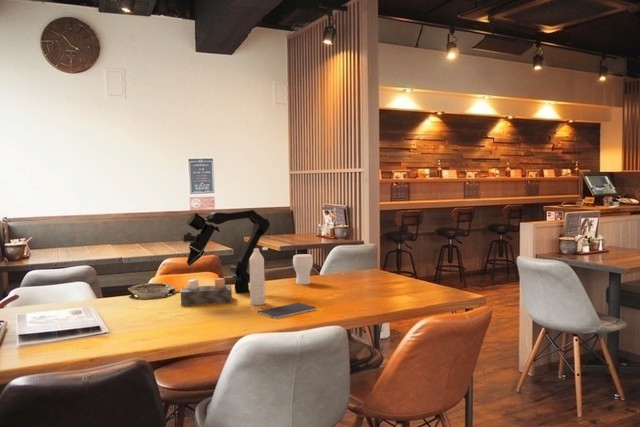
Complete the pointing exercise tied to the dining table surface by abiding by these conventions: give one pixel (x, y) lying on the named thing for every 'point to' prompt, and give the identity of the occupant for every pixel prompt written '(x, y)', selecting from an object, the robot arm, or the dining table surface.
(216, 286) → the terracotta peg
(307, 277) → the cup
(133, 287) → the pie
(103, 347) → the dining table surface
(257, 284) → the water bottle
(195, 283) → the cream peg
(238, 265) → the robot arm
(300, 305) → the notebook
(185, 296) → the block
